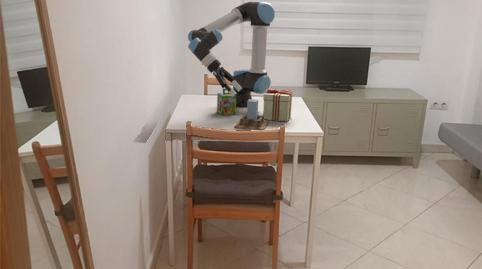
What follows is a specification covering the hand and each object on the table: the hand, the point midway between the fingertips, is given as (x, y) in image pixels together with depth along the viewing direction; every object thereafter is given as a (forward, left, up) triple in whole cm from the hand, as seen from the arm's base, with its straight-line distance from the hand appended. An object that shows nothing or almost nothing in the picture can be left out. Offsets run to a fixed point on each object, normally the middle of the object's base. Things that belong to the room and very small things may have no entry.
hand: (237, 92), depth 240 cm
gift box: (+5, +28, -18) cm, 34 cm away
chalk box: (-21, +12, -18) cm, 30 cm away
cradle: (+7, +4, -18) cm, 20 cm away
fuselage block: (+7, +4, -17) cm, 19 cm away
